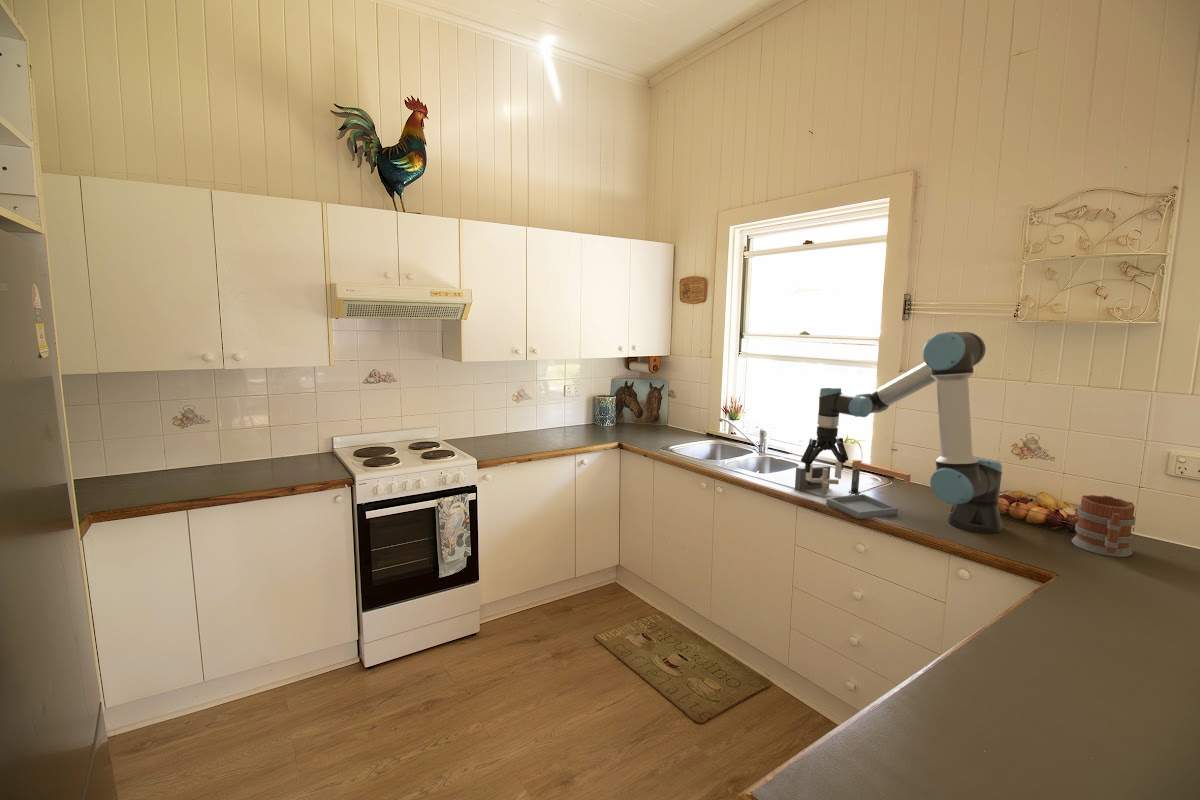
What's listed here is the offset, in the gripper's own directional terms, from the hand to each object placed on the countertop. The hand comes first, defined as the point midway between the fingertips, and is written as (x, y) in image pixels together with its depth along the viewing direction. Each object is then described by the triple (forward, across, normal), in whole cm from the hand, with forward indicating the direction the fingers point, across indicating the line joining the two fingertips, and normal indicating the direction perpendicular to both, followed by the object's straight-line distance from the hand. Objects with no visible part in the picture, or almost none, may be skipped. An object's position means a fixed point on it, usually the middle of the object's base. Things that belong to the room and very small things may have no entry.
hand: (823, 479), depth 225 cm
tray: (+5, -1, +20) cm, 21 cm away
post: (+6, -12, +4) cm, 14 cm away
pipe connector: (+6, 0, +1) cm, 6 cm away
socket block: (+6, 0, -6) cm, 9 cm away
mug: (+5, -44, +71) cm, 84 cm away
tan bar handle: (-4, -14, +14) cm, 20 cm away
